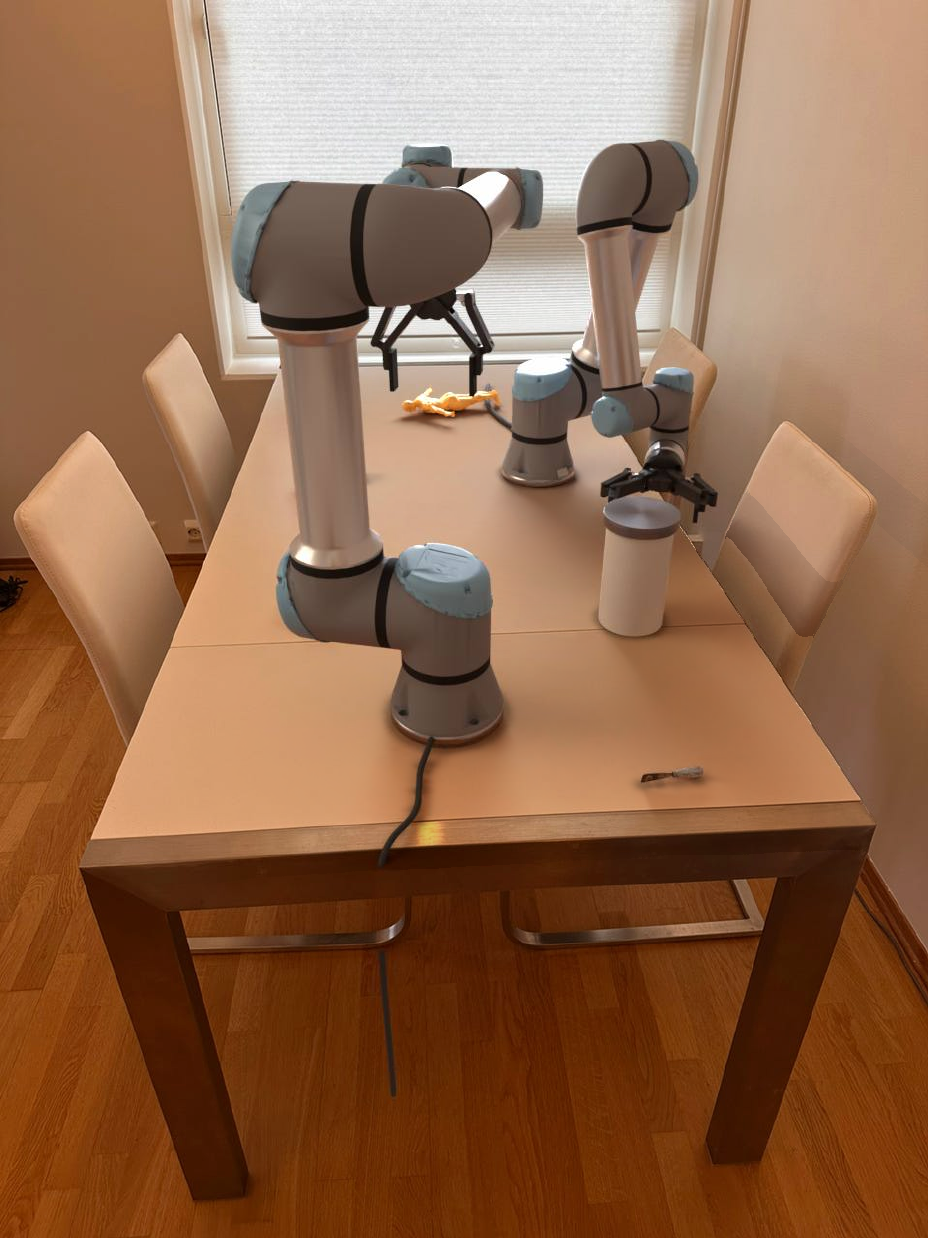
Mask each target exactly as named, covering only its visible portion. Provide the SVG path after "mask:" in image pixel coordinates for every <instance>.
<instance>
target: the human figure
mask: <svg viewBox="0 0 928 1238" xmlns="http://www.w3.org/2000/svg"><path fill="white" fill-rule="evenodd" d="M424 391H425V392H423V393H422V394H420V395H418V396H416V398H415V399H414V400H404V401H403V402H402V411H404V412H405V413H410V414H412V413H414V412H417V408H418V409H420V410H421V411H423V412H424V413H427V414H439V415H443V416H444V417H449V416H450V417H451V418H452V417H453V418H454V417H455V416H456V414H455V411H462V410H464V409H467V408H469V407H471V406H473V405H476V404H478V403H481V402H484V401H485V400H488V399H489V400H493V402H494V403H495V404H496V405H497V406H500V398H499V393H498V392H497V391H496V390H495V389H493V390H491V391H489V392H486V391H478V390H477V392H476V394H475V395H474V397H469V393H468V394H460V393H457V394H455V393H453V392H446V393H444V394H443V395H442V396H441V397H440V398H434V397H429V396H430V395H432V394H433V392H434V391H433V389H432V385H429V387H428V389H424ZM450 410H452V411H450Z"/></svg>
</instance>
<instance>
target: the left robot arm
mask: <svg viewBox="0 0 928 1238" xmlns="http://www.w3.org/2000/svg"><path fill="white" fill-rule="evenodd" d="M453 155H454V153H453V150H452V148H451V147H450V146H449V145H448V144H441V143H414V144H408V145H405V146H404V147H403V149H402V155H401V156H402V159H401V161H402V162H401V166H400V167H398V168H397V169H394V170H393V171H391V172H390V173H389V174H388V175H387V176H386V177H385V178H384V179H383V180H382V182H381V183H353V182H350V183H349V182H329V181H300V180H289V181H277V182H266V183H265V182H264V183H261V184H258V185H255V186H254V187H253V188H252V189H250V190H249V191H248V192H247V194H246V195H245V196H244V198H243V200H242V201H241V203H240V205H239V208H238V211H237V214H236V216H235V219H234V222H233V223H234V224H233V229H232V235H231V242H230V245H231V246H230V262H231V270H232V276H233V281H234V284H235V286H236V287H237V288H238V293H239V295H240V296H241V297H242V298H243V299H245V300H246V301H248V302H249V303H252V304H258V306H259V313H260V314H259V315H260V322H261V325H262V327H263V328H264V329H266V330H267V331H268V332H269V333H270V334H271V335H273V336H274V337H275V338H276V340H277V345H278V353H279V354H278V355H279V363H280V370H281V372H280V373H281V378H282V379H281V381H282V389H283V398H284V406H285V407H284V408H285V414H286V424H287V433H288V441H289V450H290V460H291V467H292V477H293V485H294V493H295V502H296V511H297V521H298V528H299V533H298V534H297V535H296V536H295V537H294V538H293V539H292V540H291V542H290V544H289V548H288V550H287V551H286V552H285V553H284V554H283V555H282V557H281V558H280V561H279V564H278V567H277V572H276V579H277V584H276V585H275V599H276V604H277V609H278V612H279V615H280V617H281V619H282V622H283V624H284V625H285V627H286V628H287V629H288V631H290V633H292V634H294V635H295V636H298V637H299V638H303V639H309V640H314V641H317V642H320V643H326V644H328V643H336V644H337V643H338V644H346V645H354V646H364V647H371V648H372V647H373V648H379V649H380V648H381V649H390V650H398V651H400V655H401V667H400V669H399V672H398V675H397V678H396V681H395V684H394V687H393V690H392V693H391V696H390V703H389V706H390V718H391V721H392V724H393V725H394V727H395V728H396V729H397V731H398V732H399V733H400V734H402V735H403V736H404V737H406V738H407V739H409V740H411V741H413V742H415V743H417V744H420V745H421V744H422V745H425V747H424V749H423V753H422V755H421V758H420V760H419V763H418V765H417V769H416V776H415V792H414V804H413V806H412V809H411V811H410V812H409V814H408V816H407V817H406V818H405V819H404V820H403V821H402V822H401V823H400V824H399V825H398V826H397V827H396V828H395V829H394V830H393V831H392V832H391V833H390V835H389V836H388V838H387V839H386V841H385V842H384V845H383V847H382V849H381V852H380V854H379V858H378V861H377V865H378V866H379V867H384V866H385V865H386V862H387V859H388V855H389V853H390V851H391V848H392V847H393V845H394V844H395V841H396V840H397V839H398V837H399V836H400V835H401V834H402V833H403V832H404V831H405V830H406V829H407V828H408V827H409V826H411V824H412V823H414V821H415V819H416V818H417V816H418V814H419V812H420V809H421V806H422V798H423V786H424V785H423V784H424V783H423V782H424V772H425V768H426V764H427V762H428V760H429V757H430V755H431V751H432V750H433V747H437V748H454V747H455V748H457V747H463V746H467V745H471V744H473V743H476V742H480V741H481V740H483V739H485V738H486V737H488V736H489V735H491V734H492V733H493V732H494V731H495V730H496V729H498V727H499V726H500V724H501V722H502V720H503V717H504V696H503V693H502V690H501V687H500V685H499V682H498V679H497V677H496V674H495V672H494V668H493V666H492V664H491V654H492V653H491V651H492V649H491V648H492V647H491V645H492V643H491V642H492V641H491V640H492V608H493V606H494V605H493V604H494V598H493V593H492V584H491V581H492V580H491V574H490V571H489V569H488V567H487V565H486V564H485V563H484V562H483V561H482V560H480V559H479V557H478V556H477V555H476V554H474V553H472V552H470V551H468V550H466V549H465V548H462V547H459V546H455V545H451V544H447V543H439V542H427V543H424V545H420V544H414V545H412V546H410V547H407V548H405V549H404V550H403V551H401V553H400V554H399V555H398V557H392V556H385V553H384V542H383V538H382V537H381V535H380V534H379V533H378V532H376V531H375V530H374V529H372V528H371V527H370V526H371V525H370V513H369V511H370V510H369V499H368V498H369V496H368V482H367V468H366V453H365V439H364V438H365V437H364V425H363V424H364V423H363V421H364V420H363V408H362V395H361V382H360V381H361V380H360V378H361V377H360V366H359V365H360V364H359V350H358V349H359V347H358V335H359V333H360V332H361V331H362V330H363V329H364V328H365V326H366V325H368V323H369V322H370V307H371V308H384V309H383V311H382V314H381V316H380V319H379V321H378V324H377V325H376V328H375V330H374V333H373V335H372V337H371V339H370V342H369V344H370V346H371V347H372V348H378V349H379V350H380V351H381V353H382V368H383V370H384V371H388V380H389V381H388V382H389V392H392V393H394V392H396V390H397V389H398V388H399V366H398V348H395V347H393V345H394V344H395V343H396V342H397V341H398V339H399V338H400V337H401V335H402V334H403V333H405V331H406V330H407V328H408V327H409V325H410V324H411V323H412V322H413V320H414V319H415V318H416V317H417V318H419V319H420V320H421V321H425V320H433V321H441V320H443V319H444V320H445V322H446V323H447V324H448V325H450V326H451V327H452V329H453V331H455V332H456V334H457V335H458V337H459V338H460V339H461V340H462V342H463V343H464V344H465V346H466V347H467V348H468V349H469V350H470V352H471V353H470V355H469V356H468V394H469V397H474V395H475V394H476V392H477V391H478V376H482V374H483V371H484V355H485V354H491V353H492V351H493V350H494V348H495V345H496V344H495V342H494V340H493V338H492V336H491V333H490V332H489V330H488V329H489V328H488V327H487V325H486V323H485V321H484V318H483V315H482V314H481V312H480V310H479V307H478V305H477V301H476V292H475V290H473V289H472V288H471V289H468V290H467V291H457V288H458V287H460V286H462V285H463V284H465V283H466V282H468V281H469V280H471V279H472V278H473V277H474V276H476V274H477V273H478V272H479V271H480V270H481V269H482V268H483V267H484V266H485V264H486V262H487V260H488V259H489V257H490V255H491V252H492V248H493V245H494V244H495V243H496V242H497V241H498V240H499V239H500V238H501V237H502V236H504V234H505V233H506V232H507V231H508V230H511V229H512V230H516V231H522V230H531V229H532V230H533V229H537V227H538V226H539V225H540V223H541V220H542V215H543V207H544V206H543V205H544V203H543V202H544V180H543V175H542V173H541V172H540V171H539V170H538V169H535V168H523V167H520V166H516V167H459V166H457V167H456V166H454V156H453ZM457 301H459V303H460V304H461V306H462V307H465V311H466V313H467V316H468V318H469V321H470V323H471V325H472V326H473V329H474V331H475V333H476V335H477V337H478V338H477V337H476V336H475V334H474V333H473V332H472V331H471V330H470V328H469V327H468V325H467V324H466V323H465V322H464V320H463V319H462V318H461V317H460V315H459V312H458V311H457V310H456V308H455V307H454V305H455V304H456V302H457ZM406 306H409V307H410V308H409V310H408V311H407V312H406V314H405V315H404V316H403V318H402V319H401V320H400V322H399V323H398V324H397V325H396V327H395V328H394V329H393V330H392V332H391V333H390V334H389V336H388V337H387V338H386V339H384V337H385V334H386V332H387V329H388V327H389V324H390V322H391V320H392V318H393V316H394V313H395V311H396V309H397V308H399V307H406ZM378 966H379V979H380V980H379V982H380V993H381V1004H382V1014H383V1015H382V1016H383V1025H384V1033H385V1034H384V1035H385V1036H384V1037H385V1045H386V1055H387V1067H388V1079H389V1090H390V1092H389V1094H390V1096H391V1097H392V1098H395V1097H396V1096H397V1094H398V1093H397V1080H396V1069H395V1056H394V1055H395V1054H394V1047H393V1046H394V1045H393V1044H394V1043H393V1036H392V1035H393V1034H392V1023H391V1014H390V1001H389V989H388V977H387V975H388V974H387V956H386V951H385V950H381V949H378Z"/></svg>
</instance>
